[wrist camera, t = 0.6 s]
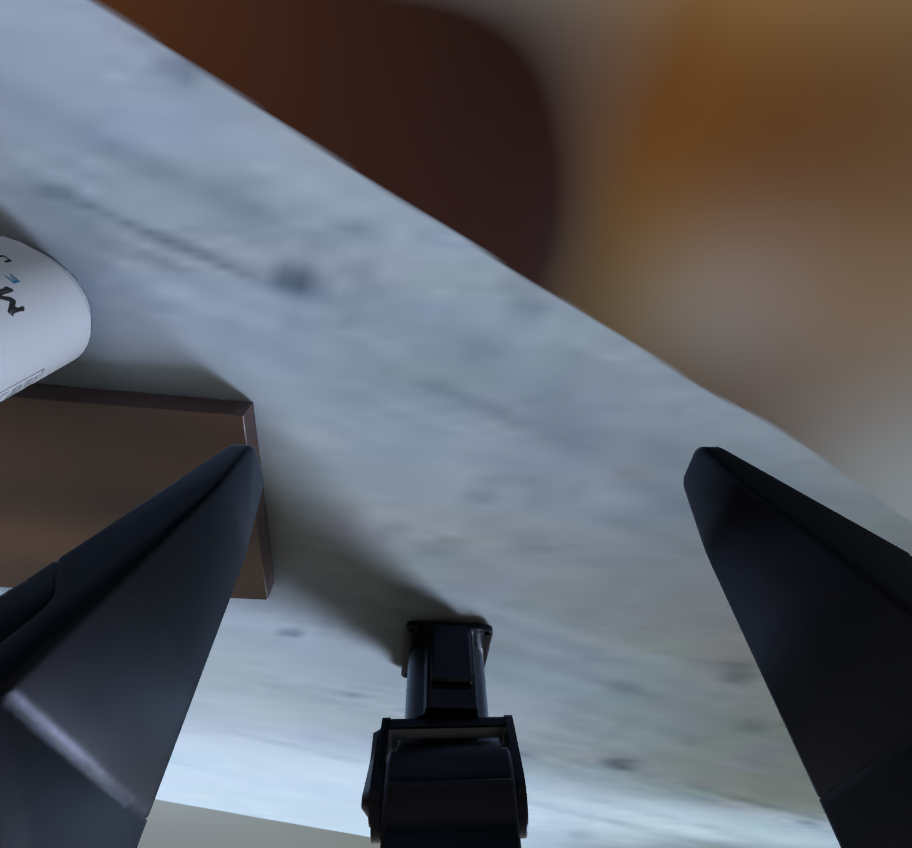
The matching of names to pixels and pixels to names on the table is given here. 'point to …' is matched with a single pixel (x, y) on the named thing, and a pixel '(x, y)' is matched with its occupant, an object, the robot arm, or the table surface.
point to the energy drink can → (37, 317)
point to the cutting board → (108, 469)
